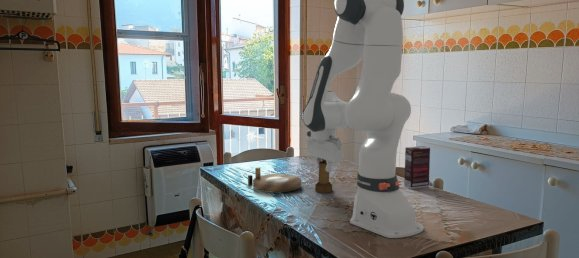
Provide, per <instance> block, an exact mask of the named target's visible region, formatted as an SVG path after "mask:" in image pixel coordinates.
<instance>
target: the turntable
mask: <svg viewBox="0 0 579 258" xmlns="http://www.w3.org/2000/svg"><path fill="white" fill-rule="evenodd" d="M254 170H255V175H254V176H255V177H254V178H253V185H252V186H253V189H255V190H257V191H261V192H266V193H285V192H292V191H295V190H298V189H300V188H301V187H302V179H301V178H300V177H299V176H297V175H292V174H286V173H285V174H284V173H272V174H270V173H269V174H263V175H261V167H255V169H254Z"/></svg>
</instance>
